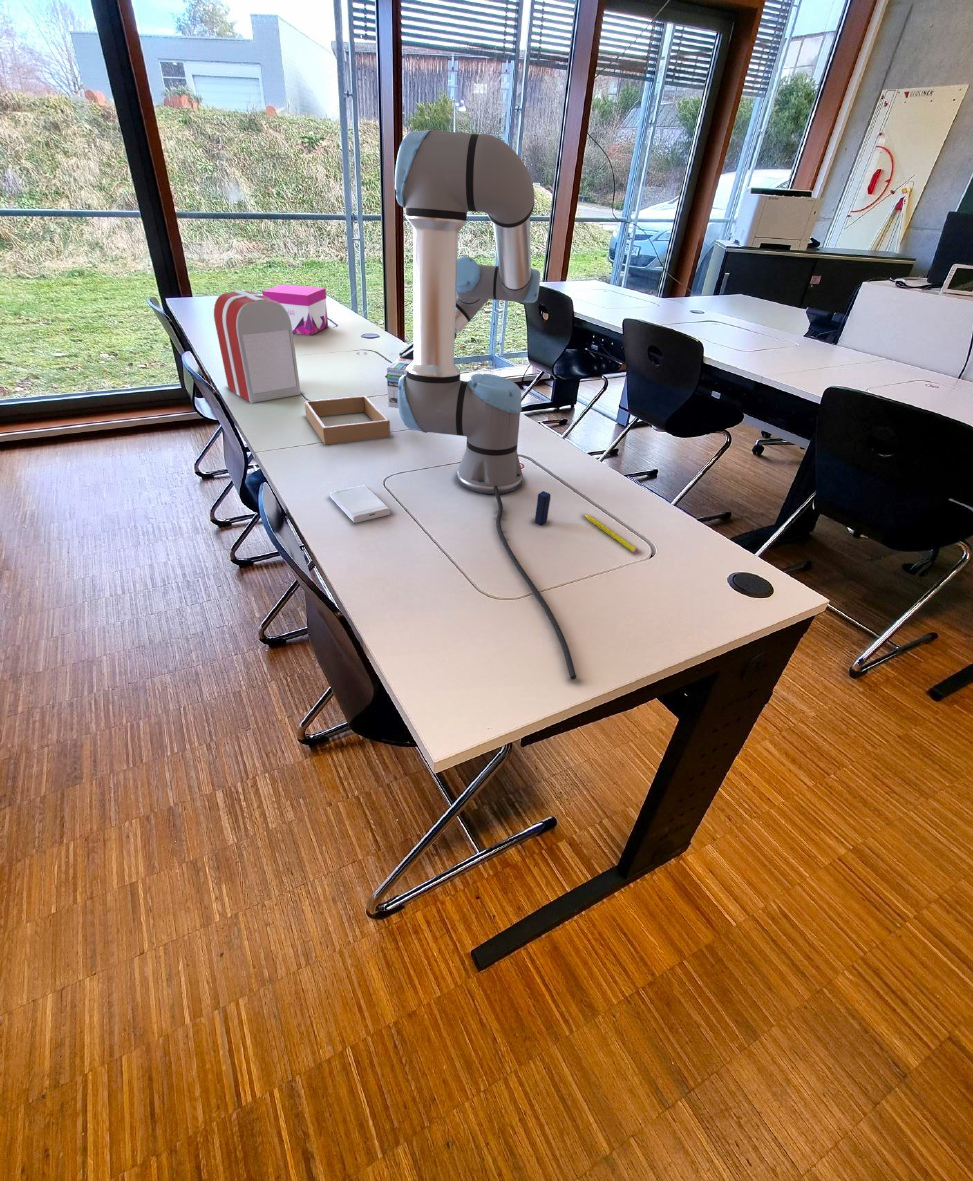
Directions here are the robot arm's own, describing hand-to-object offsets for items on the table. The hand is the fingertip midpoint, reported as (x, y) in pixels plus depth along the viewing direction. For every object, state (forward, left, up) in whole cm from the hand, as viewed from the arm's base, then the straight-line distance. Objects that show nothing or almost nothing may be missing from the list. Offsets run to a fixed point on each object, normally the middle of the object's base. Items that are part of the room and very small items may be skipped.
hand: (396, 387), depth 161 cm
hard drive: (-46, +24, -10) cm, 53 cm away
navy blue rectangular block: (-66, -8, -10) cm, 67 cm away
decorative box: (+118, +3, -10) cm, 118 cm away
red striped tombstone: (+37, +30, -10) cm, 49 cm away
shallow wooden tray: (0, +14, -10) cm, 17 cm away
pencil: (-75, -20, -10) cm, 78 cm away
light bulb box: (0, -3, -5) cm, 5 cm away
